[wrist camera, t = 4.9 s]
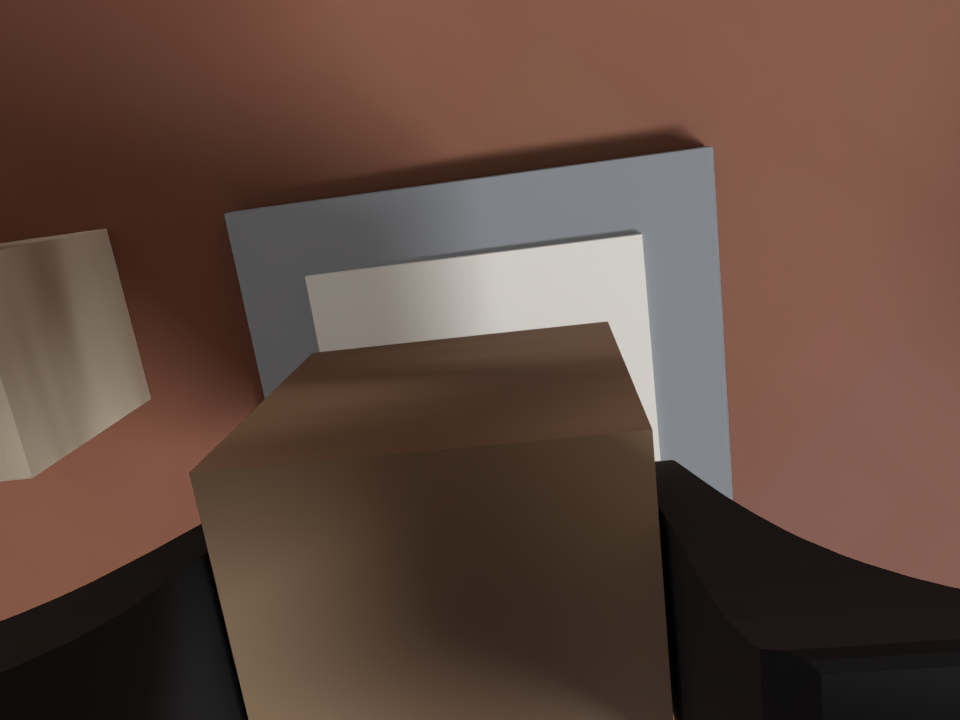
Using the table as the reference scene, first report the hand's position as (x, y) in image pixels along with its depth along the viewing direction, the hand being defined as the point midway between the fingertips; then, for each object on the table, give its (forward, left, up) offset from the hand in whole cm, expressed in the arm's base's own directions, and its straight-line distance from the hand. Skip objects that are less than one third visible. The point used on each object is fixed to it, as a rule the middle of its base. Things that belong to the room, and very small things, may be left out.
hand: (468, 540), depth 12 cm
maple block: (-10, +3, -6) cm, 12 cm away
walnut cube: (0, 0, -2) cm, 2 cm away
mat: (0, 0, -6) cm, 6 cm away
